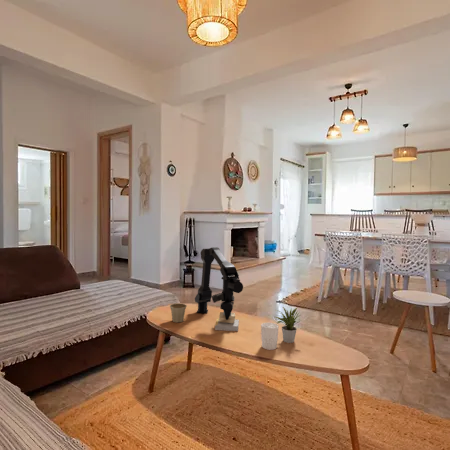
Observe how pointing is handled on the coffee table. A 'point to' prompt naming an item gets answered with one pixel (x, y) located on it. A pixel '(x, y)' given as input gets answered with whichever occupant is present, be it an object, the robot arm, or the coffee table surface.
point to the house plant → (288, 325)
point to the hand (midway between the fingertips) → (227, 317)
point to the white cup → (269, 335)
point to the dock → (227, 325)
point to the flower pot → (178, 312)
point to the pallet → (230, 319)
